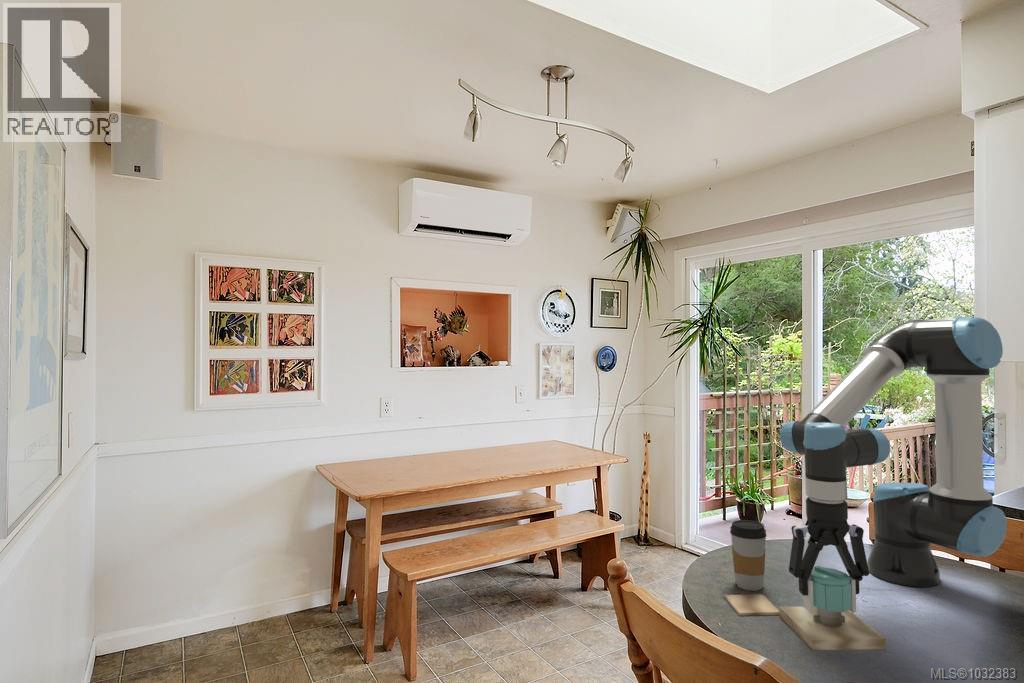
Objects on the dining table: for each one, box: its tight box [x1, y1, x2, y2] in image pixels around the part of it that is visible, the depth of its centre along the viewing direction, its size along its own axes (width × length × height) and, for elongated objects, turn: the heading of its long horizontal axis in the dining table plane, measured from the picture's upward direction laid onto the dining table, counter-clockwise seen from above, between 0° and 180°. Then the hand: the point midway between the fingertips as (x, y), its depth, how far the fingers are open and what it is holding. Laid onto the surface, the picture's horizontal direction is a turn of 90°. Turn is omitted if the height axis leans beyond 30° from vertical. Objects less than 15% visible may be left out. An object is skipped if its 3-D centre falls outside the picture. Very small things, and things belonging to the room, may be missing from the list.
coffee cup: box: [729, 519, 767, 591], centre depth 139 cm, size 8×8×15 cm
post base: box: [778, 606, 887, 651], centre depth 116 cm, size 14×14×10 cm
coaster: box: [724, 594, 780, 616], centre depth 128 cm, size 9×9×1 cm
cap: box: [809, 565, 852, 612], centre depth 116 cm, size 7×7×7 cm
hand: (829, 609), depth 116 cm, fingers closed on cap, 8 cm apart
